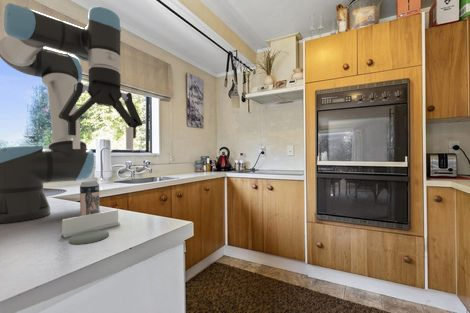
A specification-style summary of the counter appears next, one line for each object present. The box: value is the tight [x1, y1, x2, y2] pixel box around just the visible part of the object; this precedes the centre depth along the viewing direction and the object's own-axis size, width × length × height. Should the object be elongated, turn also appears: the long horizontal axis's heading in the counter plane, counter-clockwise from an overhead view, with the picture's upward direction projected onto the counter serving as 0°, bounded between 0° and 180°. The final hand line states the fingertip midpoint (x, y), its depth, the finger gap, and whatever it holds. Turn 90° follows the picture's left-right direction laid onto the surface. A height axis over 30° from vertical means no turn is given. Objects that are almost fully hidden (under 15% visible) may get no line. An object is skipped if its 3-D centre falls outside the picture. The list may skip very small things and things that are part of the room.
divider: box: [60, 209, 121, 238], centre depth 62 cm, size 3×13×4 cm, turn 142°
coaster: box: [68, 230, 109, 245], centre depth 55 cm, size 8×8×1 cm
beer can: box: [79, 180, 100, 216], centre depth 68 cm, size 5×5×12 cm
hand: (105, 149), depth 63 cm, fingers open, 13 cm apart
